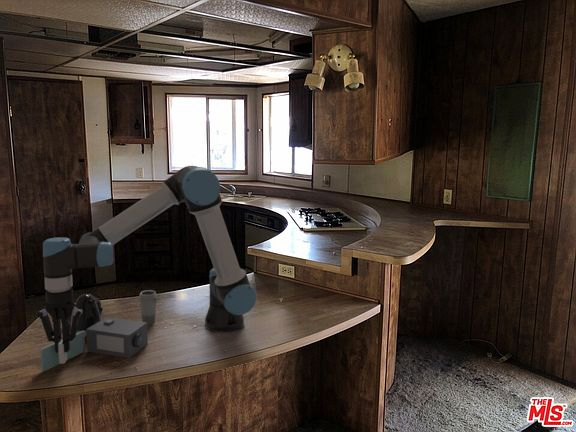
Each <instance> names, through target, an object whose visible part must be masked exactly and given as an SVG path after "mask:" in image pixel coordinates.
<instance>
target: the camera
mask: <svg viewBox="0 0 576 432" xmlns="http://www.w3.org/2000/svg"><path fill="white" fill-rule="evenodd" d="M88 294H89V295H91V296H92V297H93V298H94V299H95V302H96V304H97V306H98V309H99V312H100V316H101V317H102V313H103V310H104V308H103V307H102V303H101V300H100V299H99V298H97V297H96V296H94V295H92V294H90V293H88ZM72 312H73V311H72ZM71 317H72V313H71V314H70V315H69V325H71Z"/></svg>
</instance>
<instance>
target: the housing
mask: <svg viewBox="0 0 576 432" xmlns="http://www.w3.org/2000/svg"><path fill="white" fill-rule="evenodd" d="M86 332H87V337H86V346H87V347H86V349H87V352H88V353H94V354H100V355H106V356H107V355H108V356H112V357H119V358H125V359H131V358H132V357H133V356H135V355H136V354H138V352H140V351H141V350H142V349H144V348H145V347H146V346H147V345H148V344H149V342H148V324H147V323H146V322H143V321H139V320H138V321H137V320H131V319H124V318H117V317H110V316H107V317H104V318H103V319H101V321H99V322H98V323H96V324H94V325H92V326H91V327H89V328H87V329H86Z"/></svg>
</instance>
